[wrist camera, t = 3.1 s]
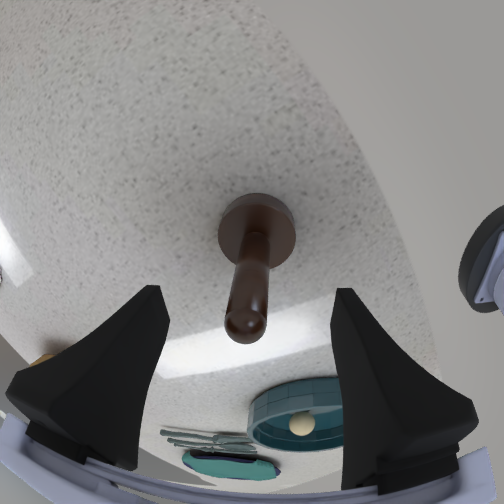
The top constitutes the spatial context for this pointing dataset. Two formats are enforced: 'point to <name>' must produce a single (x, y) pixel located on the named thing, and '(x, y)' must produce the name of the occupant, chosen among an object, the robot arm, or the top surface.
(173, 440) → the cutlery set
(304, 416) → the dough ball
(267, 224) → the wooden pestle
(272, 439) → the bowl
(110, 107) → the top surface
